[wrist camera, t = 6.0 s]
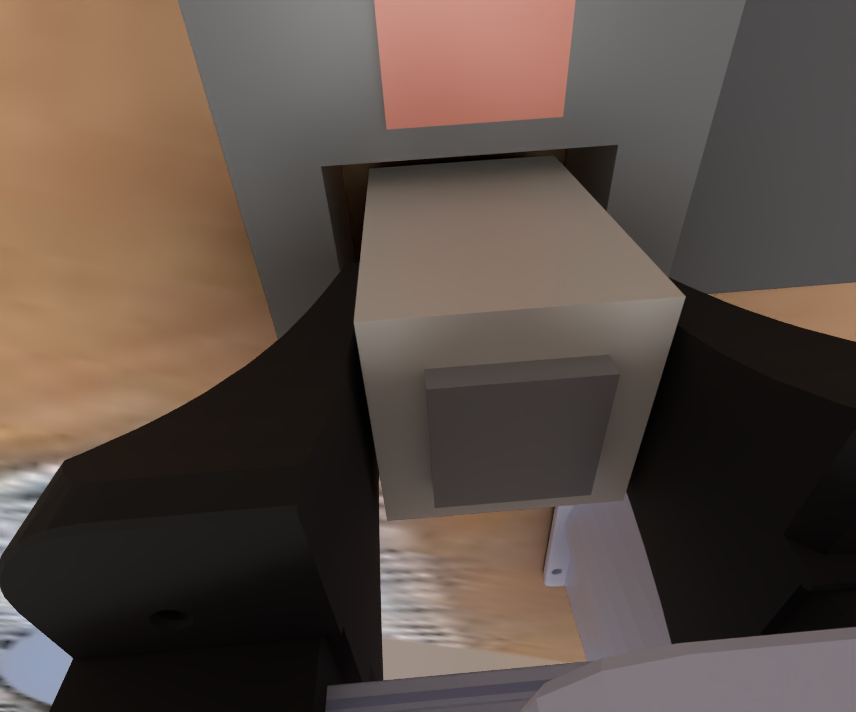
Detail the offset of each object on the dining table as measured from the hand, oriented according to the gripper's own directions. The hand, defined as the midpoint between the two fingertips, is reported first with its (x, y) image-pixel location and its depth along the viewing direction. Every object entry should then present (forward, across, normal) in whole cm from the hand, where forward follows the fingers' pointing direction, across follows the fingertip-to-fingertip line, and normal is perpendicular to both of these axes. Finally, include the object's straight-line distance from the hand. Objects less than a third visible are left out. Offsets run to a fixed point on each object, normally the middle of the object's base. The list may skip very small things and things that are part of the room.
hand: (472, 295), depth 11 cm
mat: (+3, -10, -2) cm, 11 cm away
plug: (+2, 0, 0) cm, 2 cm away
